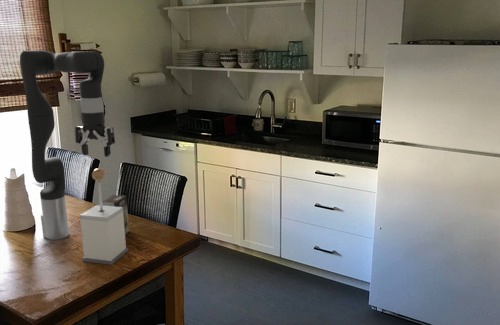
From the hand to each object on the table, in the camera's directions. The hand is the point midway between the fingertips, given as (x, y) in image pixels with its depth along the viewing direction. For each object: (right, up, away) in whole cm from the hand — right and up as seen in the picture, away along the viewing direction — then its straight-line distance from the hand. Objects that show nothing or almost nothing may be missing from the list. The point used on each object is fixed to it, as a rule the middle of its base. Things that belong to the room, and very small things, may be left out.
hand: (96, 155), depth 168 cm
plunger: (0, -24, +6) cm, 25 cm away
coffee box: (-1, -33, +29) cm, 44 cm away
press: (+1, -37, +11) cm, 39 cm away
